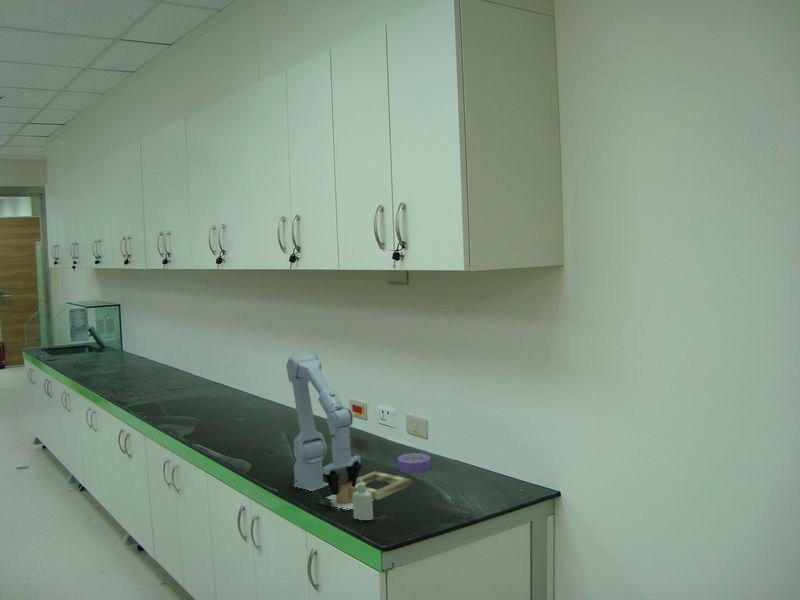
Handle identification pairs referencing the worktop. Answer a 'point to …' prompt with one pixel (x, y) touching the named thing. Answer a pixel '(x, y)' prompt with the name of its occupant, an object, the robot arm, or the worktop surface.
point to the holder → (394, 486)
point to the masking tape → (414, 462)
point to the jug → (345, 491)
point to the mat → (345, 506)
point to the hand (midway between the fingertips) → (343, 490)
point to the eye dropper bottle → (362, 503)
